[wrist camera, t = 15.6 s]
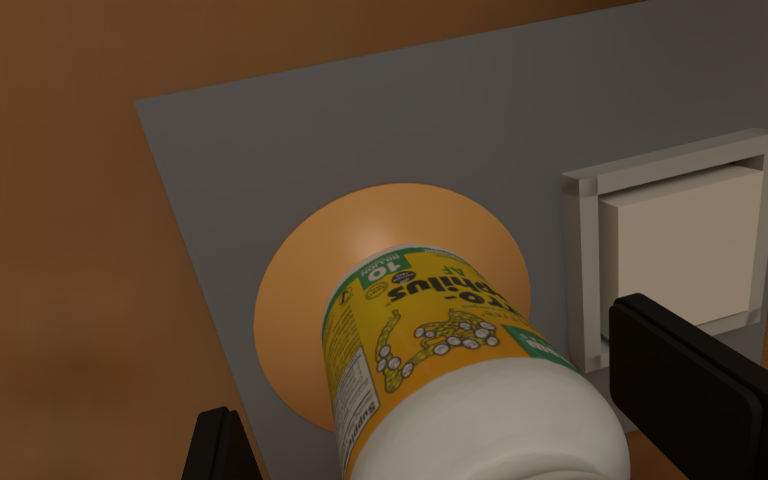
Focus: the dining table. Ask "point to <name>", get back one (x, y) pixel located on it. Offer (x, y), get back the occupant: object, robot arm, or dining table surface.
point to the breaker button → (681, 242)
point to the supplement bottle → (454, 380)
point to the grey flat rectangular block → (451, 183)
